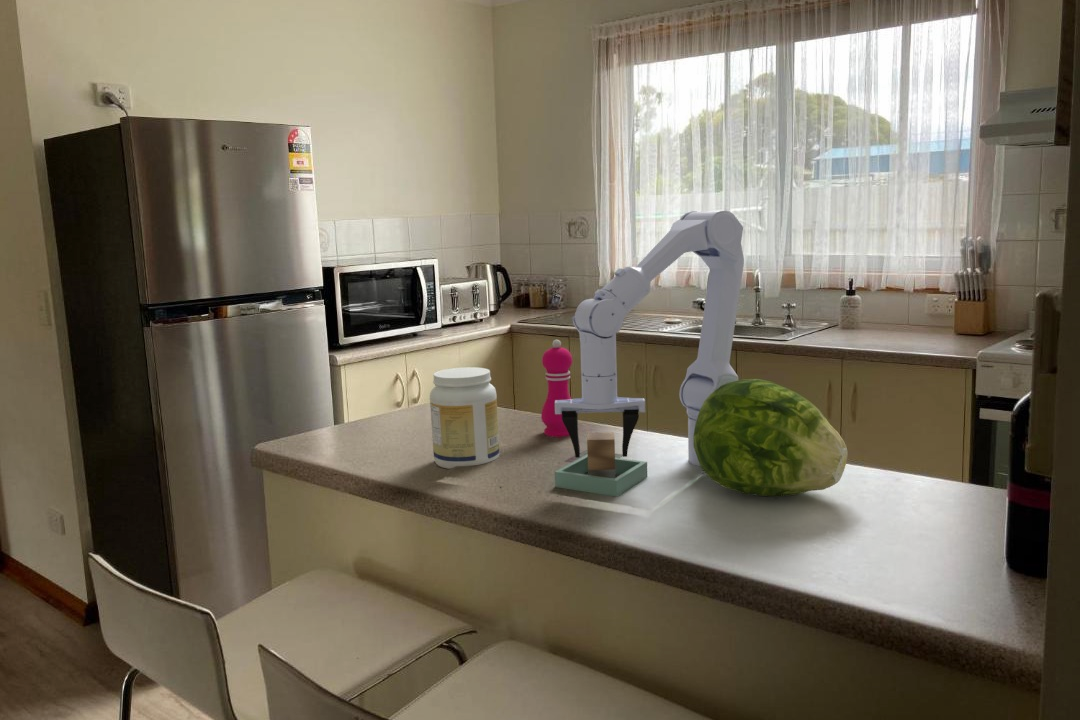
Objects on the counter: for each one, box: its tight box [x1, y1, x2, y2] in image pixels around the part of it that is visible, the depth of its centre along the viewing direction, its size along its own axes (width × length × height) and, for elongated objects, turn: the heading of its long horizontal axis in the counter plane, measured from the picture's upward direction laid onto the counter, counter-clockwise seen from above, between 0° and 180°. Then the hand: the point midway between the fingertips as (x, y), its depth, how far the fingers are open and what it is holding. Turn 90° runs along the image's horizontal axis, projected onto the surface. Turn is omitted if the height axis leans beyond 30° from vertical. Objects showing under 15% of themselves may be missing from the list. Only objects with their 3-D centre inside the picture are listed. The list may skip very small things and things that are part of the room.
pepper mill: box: [540, 339, 573, 438], centre depth 172 cm, size 7×7×20 cm
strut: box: [586, 432, 616, 479], centre depth 140 cm, size 4×4×8 cm
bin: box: [554, 454, 648, 497], centre depth 141 cm, size 11×11×4 cm
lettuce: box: [693, 378, 849, 498], centre depth 133 cm, size 19×23×18 cm
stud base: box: [565, 449, 623, 463], centre depth 154 cm, size 8×8×3 cm
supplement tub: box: [429, 366, 500, 470], centre depth 157 cm, size 12×12×17 cm
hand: (601, 455), depth 140 cm, fingers open, 7 cm apart
